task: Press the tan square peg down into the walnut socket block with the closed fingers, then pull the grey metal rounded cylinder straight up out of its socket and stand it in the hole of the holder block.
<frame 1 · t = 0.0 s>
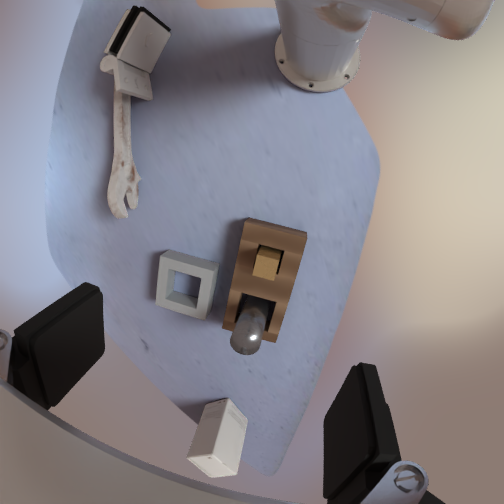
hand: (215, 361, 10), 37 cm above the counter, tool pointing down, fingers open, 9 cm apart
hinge: (153, 63, 41), on the counter
grey metal rounded cylinder: (257, 302, 50), resting in socket block
bit holder: (189, 280, 51), on the counter
socket block: (264, 278, 48), on the counter
tan square peg: (267, 261, 43), point 4 cm above the counter, slide at 0.0 cm
skincare box: (228, 411, 59), on the counter
wrench: (132, 125, 45), on the counter
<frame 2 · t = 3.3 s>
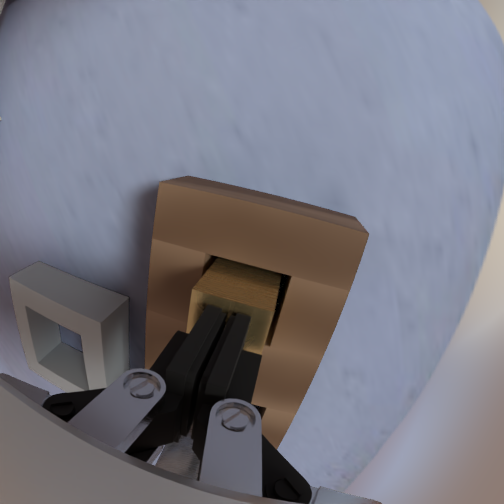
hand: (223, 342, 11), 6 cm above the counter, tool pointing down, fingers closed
grey metal rounded cylinder: (224, 387, 20), resting in socket block
bit holder: (82, 328, 21), on the counter
socket block: (236, 338, 18), on the counter
tan square peg: (238, 304, 13), point 4 cm above the counter, slide at 0.9 cm, touching gripper
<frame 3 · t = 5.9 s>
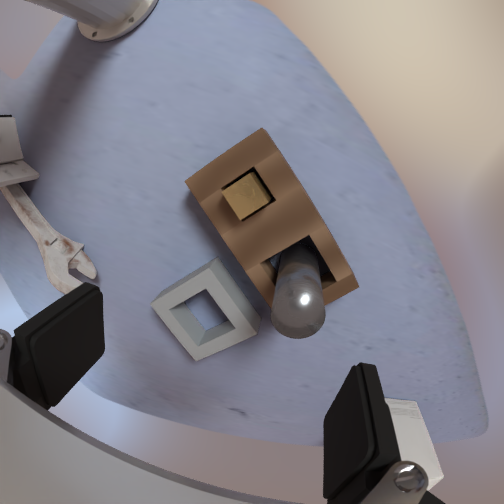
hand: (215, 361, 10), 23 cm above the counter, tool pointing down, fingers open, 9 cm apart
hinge: (20, 150, 34), on the counter
grey metal rounded cylinder: (298, 260, 33), resting in socket block
bit holder: (209, 304, 36), on the counter
socket block: (276, 226, 32), on the counter
tan square peg: (249, 193, 29), point 3 cm above the counter, slide at 1.6 cm
skincare box: (387, 410, 38), on the counter
wrench: (43, 209, 37), on the counter
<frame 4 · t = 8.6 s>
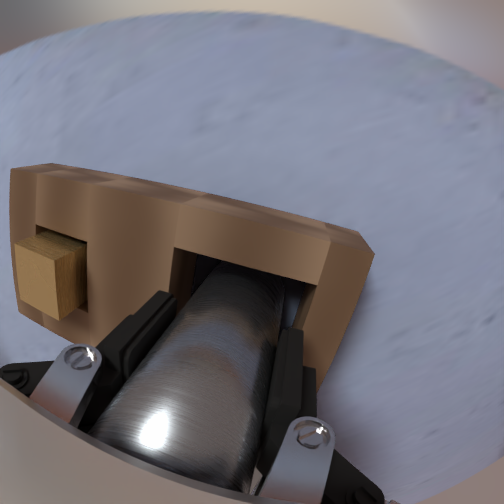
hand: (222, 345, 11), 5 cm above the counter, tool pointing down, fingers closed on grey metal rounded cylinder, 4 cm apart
grey metal rounded cylinder: (245, 292, 15), resting in socket block, touching gripper
socket block: (164, 269, 16), on the counter
tan square peg: (67, 264, 13), point 3 cm above the counter, slide at 1.6 cm
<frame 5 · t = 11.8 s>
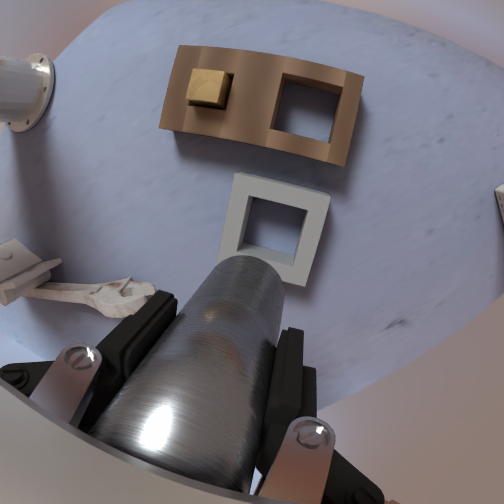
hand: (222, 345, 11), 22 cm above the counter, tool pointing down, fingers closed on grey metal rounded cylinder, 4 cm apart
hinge: (35, 257, 39), on the counter, touching wrench
grey metal rounded cylinder: (245, 292, 15), point 17 cm above the counter, touching gripper
bit holder: (274, 223, 32), on the counter
socket block: (262, 103, 28), on the counter
tan square peg: (212, 90, 26), point 3 cm above the counter, slide at 1.6 cm
wrench: (82, 283, 39), on the counter, touching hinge
when the fingers open (7 cm above the counter, at t = 14.8 s): grey metal rounded cylinder drops 2 cm, resting in bit holder.
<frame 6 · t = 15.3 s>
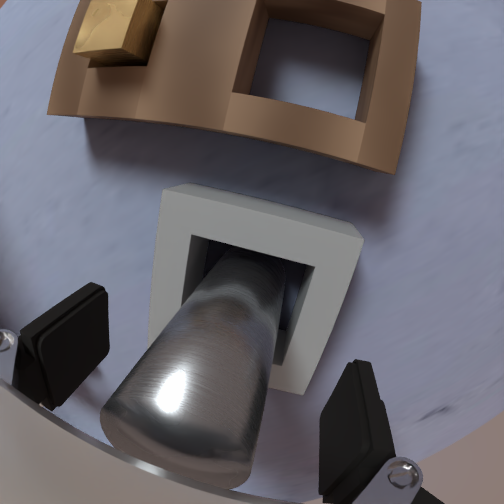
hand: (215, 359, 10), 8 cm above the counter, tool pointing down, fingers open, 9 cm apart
grey metal rounded cylinder: (250, 277, 17), resting in bit holder
bit holder: (251, 278, 17), on the counter
socket block: (227, 55, 14), on the counter
tan square peg: (131, 36, 11), point 3 cm above the counter, slide at 1.6 cm
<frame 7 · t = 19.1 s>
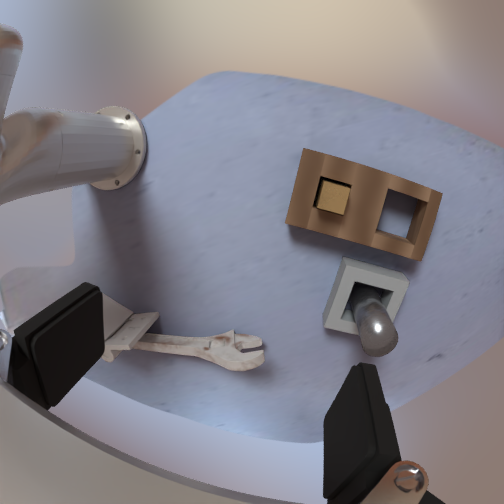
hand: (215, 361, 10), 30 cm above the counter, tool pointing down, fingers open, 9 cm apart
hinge: (124, 308, 48), on the counter
grey metal rounded cylinder: (362, 293, 40), resting in bit holder
bit holder: (362, 294, 40), on the counter
socket block: (362, 202, 36), on the counter
tan square peg: (331, 195, 34), point 3 cm above the counter, slide at 1.6 cm
wrench: (178, 333, 47), on the counter
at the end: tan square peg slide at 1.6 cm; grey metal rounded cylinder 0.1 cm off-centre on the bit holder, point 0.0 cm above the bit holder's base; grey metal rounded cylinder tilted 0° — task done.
